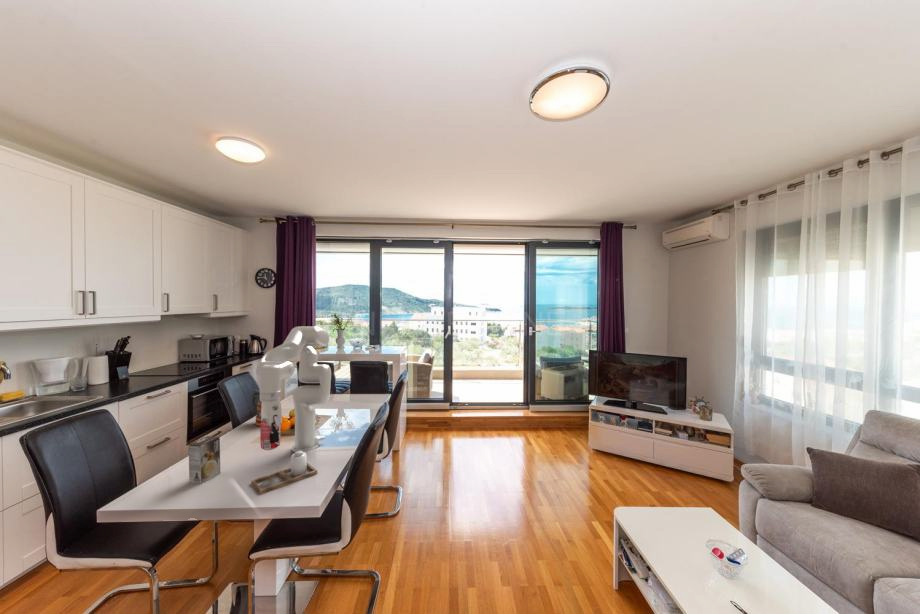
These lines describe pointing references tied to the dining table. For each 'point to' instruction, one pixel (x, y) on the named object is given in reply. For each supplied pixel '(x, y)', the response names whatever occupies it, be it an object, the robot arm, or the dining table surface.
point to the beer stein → (257, 407)
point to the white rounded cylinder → (298, 463)
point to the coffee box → (204, 459)
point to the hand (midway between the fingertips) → (270, 439)
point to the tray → (277, 483)
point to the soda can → (267, 436)
